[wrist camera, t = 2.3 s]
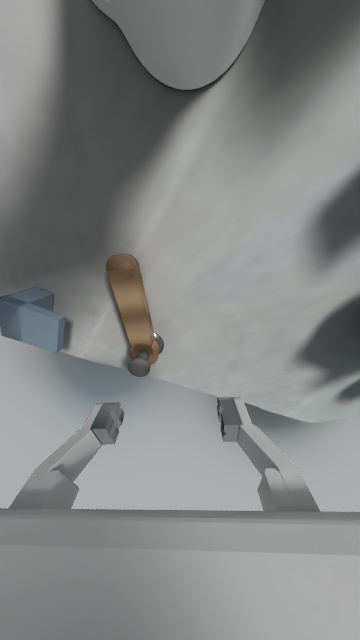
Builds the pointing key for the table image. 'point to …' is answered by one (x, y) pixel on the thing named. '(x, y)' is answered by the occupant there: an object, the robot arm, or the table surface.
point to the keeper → (32, 319)
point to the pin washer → (159, 341)
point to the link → (133, 312)
